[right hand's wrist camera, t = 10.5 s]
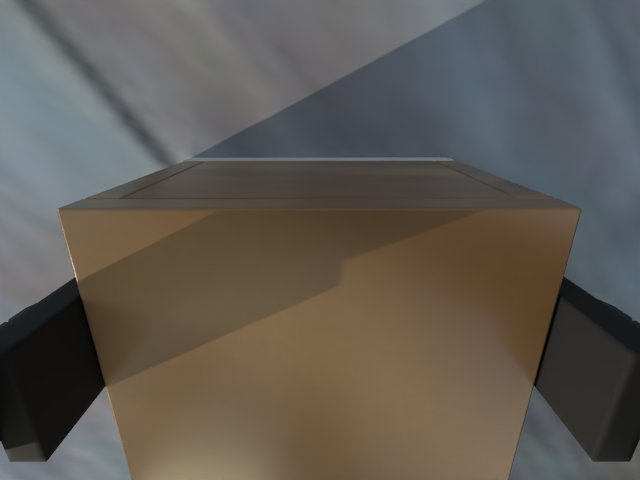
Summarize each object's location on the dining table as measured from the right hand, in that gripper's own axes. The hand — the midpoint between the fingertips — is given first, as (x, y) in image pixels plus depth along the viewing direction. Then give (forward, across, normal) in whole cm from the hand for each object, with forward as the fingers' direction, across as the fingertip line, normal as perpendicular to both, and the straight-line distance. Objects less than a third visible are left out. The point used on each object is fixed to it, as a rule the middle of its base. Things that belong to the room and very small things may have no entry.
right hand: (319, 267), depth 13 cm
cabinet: (+4, 0, -6) cm, 8 cm away
